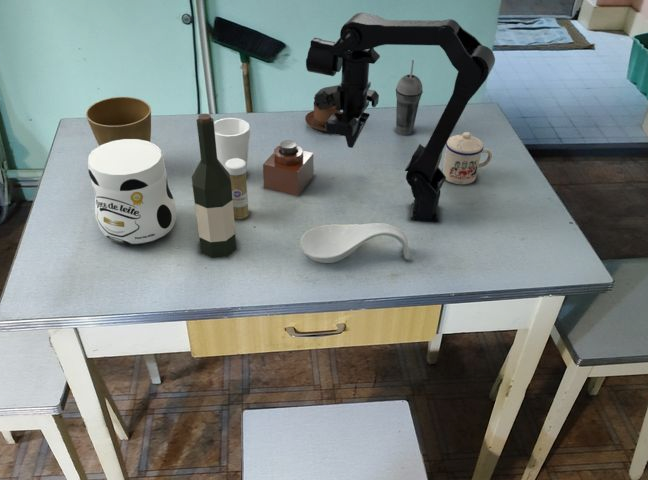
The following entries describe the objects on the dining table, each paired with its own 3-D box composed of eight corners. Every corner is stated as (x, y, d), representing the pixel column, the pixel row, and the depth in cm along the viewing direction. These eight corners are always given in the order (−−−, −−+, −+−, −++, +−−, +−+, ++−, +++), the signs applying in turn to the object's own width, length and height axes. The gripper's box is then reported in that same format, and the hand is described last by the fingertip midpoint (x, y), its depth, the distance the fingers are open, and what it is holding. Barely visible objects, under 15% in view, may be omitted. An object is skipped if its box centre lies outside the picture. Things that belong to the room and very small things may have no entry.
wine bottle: (231, 260, 143) (219, 129, 122) (193, 255, 144) (175, 123, 123) (242, 238, 149) (232, 109, 128) (206, 233, 150) (190, 104, 129)
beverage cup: (417, 125, 190) (426, 54, 176) (417, 138, 185) (427, 65, 170) (391, 124, 190) (399, 52, 176) (391, 136, 185) (398, 63, 171)
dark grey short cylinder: (299, 150, 162) (299, 142, 160) (292, 158, 159) (292, 149, 158) (284, 147, 163) (284, 138, 161) (277, 154, 160) (277, 146, 159)
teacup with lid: (445, 186, 167) (453, 143, 159) (437, 167, 173) (444, 125, 165) (492, 184, 168) (502, 141, 160) (482, 166, 174) (491, 123, 166)
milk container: (101, 257, 143) (82, 182, 131) (98, 213, 155) (80, 141, 142) (183, 245, 147) (172, 172, 134) (174, 203, 159) (163, 132, 146)
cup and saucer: (338, 112, 194) (339, 92, 190) (354, 131, 186) (355, 110, 182) (299, 118, 191) (299, 97, 187) (314, 137, 183) (314, 116, 179)
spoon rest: (301, 272, 141) (301, 244, 136) (299, 239, 150) (299, 212, 144) (412, 270, 142) (416, 243, 137) (404, 238, 151) (408, 211, 146)
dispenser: (313, 176, 169) (313, 145, 163) (297, 196, 162) (297, 164, 156) (280, 169, 171) (280, 138, 165) (263, 188, 164) (262, 156, 158)
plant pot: (89, 169, 169) (74, 108, 158) (141, 150, 176) (130, 91, 165) (119, 193, 161) (105, 131, 150) (172, 173, 168) (162, 112, 157)
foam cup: (209, 182, 166) (204, 133, 157) (222, 164, 172) (217, 115, 163) (245, 187, 164) (242, 138, 155) (257, 169, 171) (254, 120, 162)
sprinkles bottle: (231, 221, 154) (227, 169, 144) (227, 211, 157) (223, 158, 147) (251, 218, 155) (248, 166, 145) (246, 208, 158) (243, 156, 148)
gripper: (335, 57, 151) (332, 122, 162) (303, 89, 138) (302, 158, 149) (382, 65, 148) (376, 132, 159) (353, 99, 136) (349, 168, 147)
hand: (350, 146), depth 154 cm, fingers closed
